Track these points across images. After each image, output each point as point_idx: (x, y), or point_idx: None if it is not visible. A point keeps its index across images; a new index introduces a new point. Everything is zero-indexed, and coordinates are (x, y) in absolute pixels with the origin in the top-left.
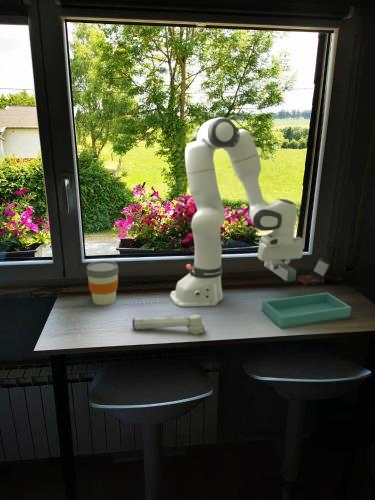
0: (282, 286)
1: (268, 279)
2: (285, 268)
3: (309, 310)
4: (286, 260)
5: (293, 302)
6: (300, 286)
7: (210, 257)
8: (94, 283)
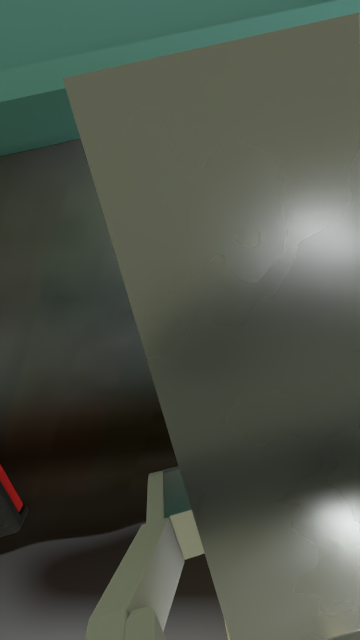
0: (137, 414)
1: None
2: (328, 246)
3: None
4: (162, 637)
5: None
6: (29, 420)
7: None
8: None
